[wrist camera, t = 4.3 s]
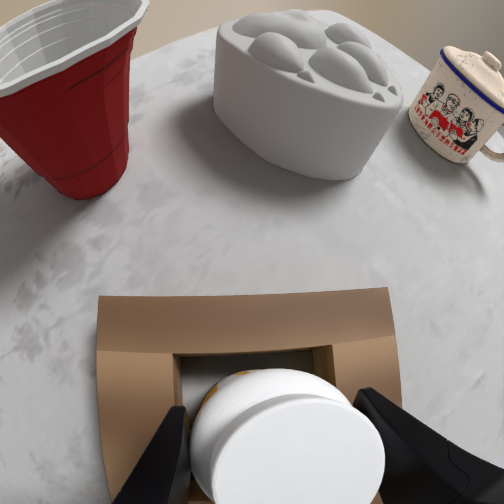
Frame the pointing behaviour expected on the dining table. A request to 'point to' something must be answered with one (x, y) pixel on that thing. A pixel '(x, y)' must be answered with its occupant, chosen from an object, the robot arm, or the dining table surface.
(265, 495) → the supplement bottle
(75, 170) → the plastic cup
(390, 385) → the bottle holder
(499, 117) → the teacup with lid
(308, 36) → the lumpy-topped squat cylinder
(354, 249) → the dining table surface
